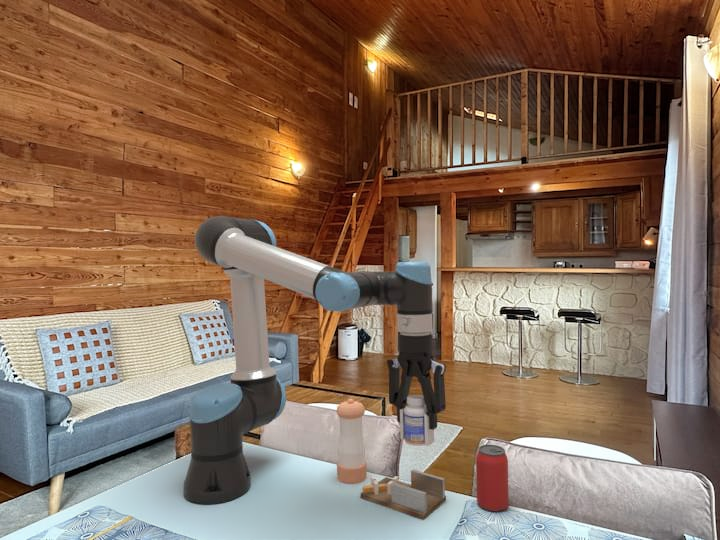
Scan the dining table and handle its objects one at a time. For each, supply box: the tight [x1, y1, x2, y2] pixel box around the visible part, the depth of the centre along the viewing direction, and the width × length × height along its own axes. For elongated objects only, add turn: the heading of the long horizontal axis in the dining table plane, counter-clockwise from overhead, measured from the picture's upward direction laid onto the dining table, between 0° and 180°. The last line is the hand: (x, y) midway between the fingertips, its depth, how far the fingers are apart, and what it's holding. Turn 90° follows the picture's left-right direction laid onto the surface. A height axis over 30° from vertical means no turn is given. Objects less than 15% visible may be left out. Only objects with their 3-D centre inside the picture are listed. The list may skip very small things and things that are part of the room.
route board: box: [360, 476, 447, 521], centre depth 106 cm, size 16×10×1 cm, turn 53°
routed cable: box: [362, 475, 400, 495], centre depth 108 cm, size 8×7×2 cm
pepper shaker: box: [336, 398, 368, 484], centre depth 117 cm, size 7×7×19 cm
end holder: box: [391, 469, 446, 514], centre depth 103 cm, size 8×9×4 cm
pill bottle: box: [404, 394, 427, 447], centre depth 103 cm, size 5×5×10 cm
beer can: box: [475, 444, 510, 512], centre depth 102 cm, size 7×7×12 cm
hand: (417, 440), depth 103 cm, fingers closed on pill bottle, 5 cm apart
